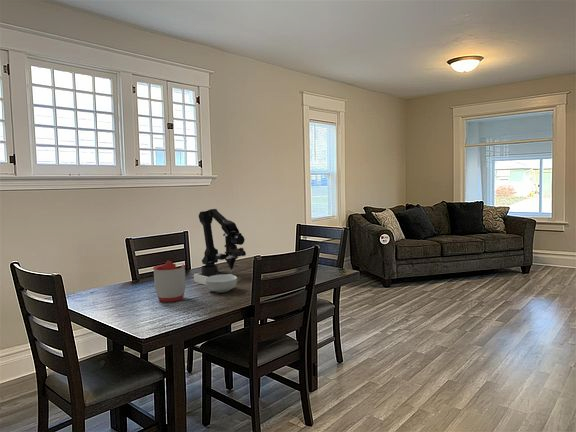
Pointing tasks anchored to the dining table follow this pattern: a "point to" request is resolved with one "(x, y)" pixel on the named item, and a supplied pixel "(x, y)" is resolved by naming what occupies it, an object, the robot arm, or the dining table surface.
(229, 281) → the cereal bowl
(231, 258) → the robot arm
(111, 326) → the dining table surface
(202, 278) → the tray
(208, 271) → the mug
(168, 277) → the citrus juicer
